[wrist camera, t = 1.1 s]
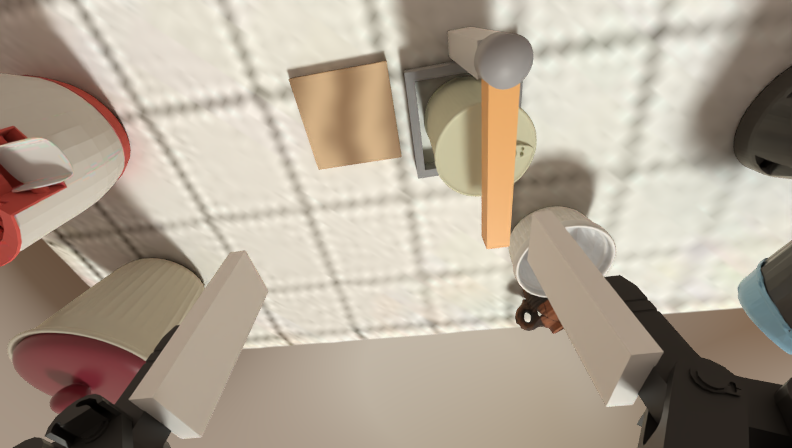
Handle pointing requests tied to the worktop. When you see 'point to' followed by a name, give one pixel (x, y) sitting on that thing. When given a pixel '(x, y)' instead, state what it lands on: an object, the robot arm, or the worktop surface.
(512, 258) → the ramekin
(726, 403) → the robot arm
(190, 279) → the canister
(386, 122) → the plate
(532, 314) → the pottery mug
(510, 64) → the orange bar
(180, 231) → the worktop surface
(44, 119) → the citrus juicer
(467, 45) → the socket
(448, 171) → the can
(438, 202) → the worktop surface
